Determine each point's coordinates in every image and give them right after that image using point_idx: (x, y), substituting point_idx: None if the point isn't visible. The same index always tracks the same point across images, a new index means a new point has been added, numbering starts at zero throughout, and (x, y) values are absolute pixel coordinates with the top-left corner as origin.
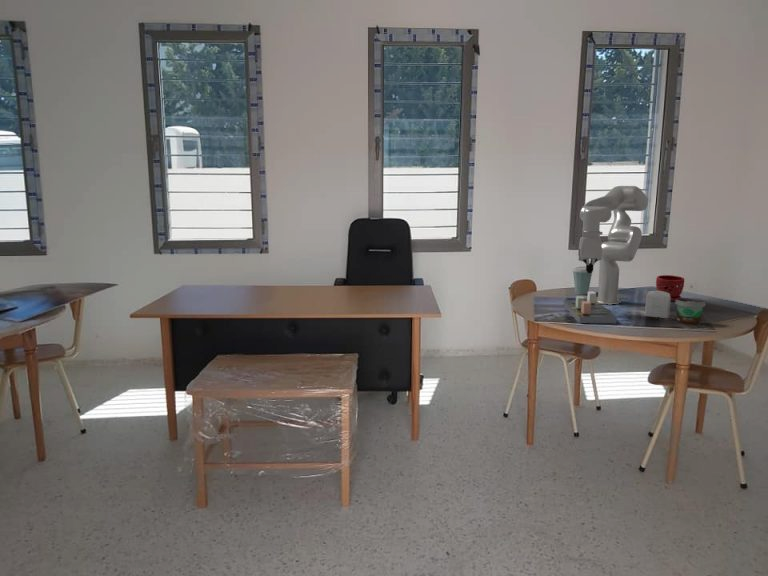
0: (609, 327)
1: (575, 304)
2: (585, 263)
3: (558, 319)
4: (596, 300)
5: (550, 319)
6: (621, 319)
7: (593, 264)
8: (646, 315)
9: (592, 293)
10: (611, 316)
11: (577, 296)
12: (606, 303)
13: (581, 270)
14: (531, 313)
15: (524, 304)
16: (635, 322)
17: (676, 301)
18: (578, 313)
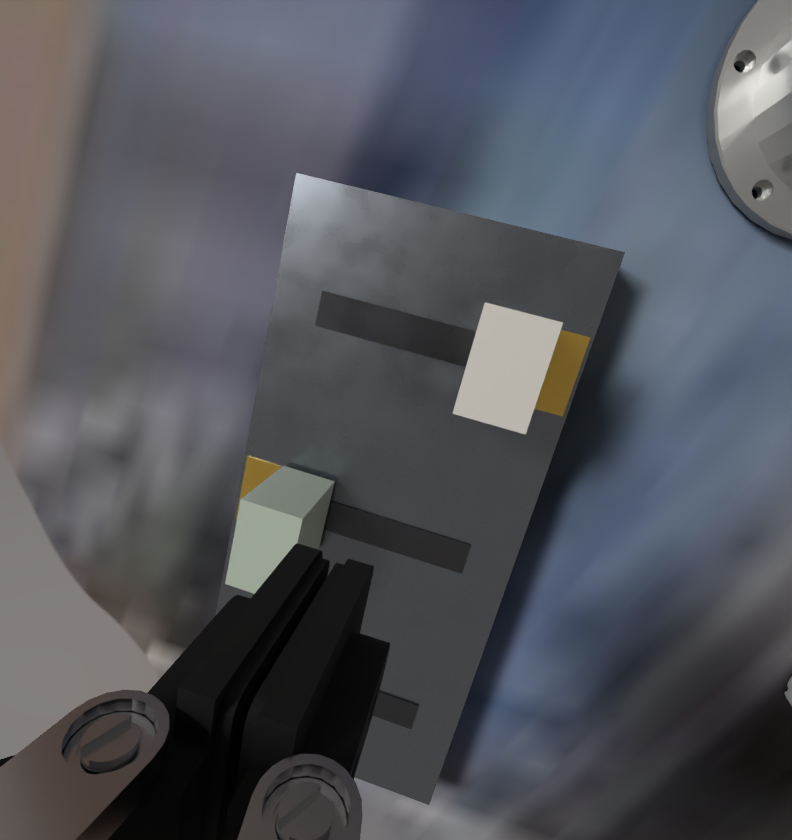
0: None
1: (329, 370)
2: (93, 704)
3: (134, 564)
4: (729, 82)
5: (88, 549)
6: (535, 693)
7: None
8: (788, 699)
9: (481, 420)
10: (406, 778)
11: (249, 514)
12: (760, 221)
13: None
14: (11, 369)
15: (17, 40)
16: (577, 779)
17: None
18: None
